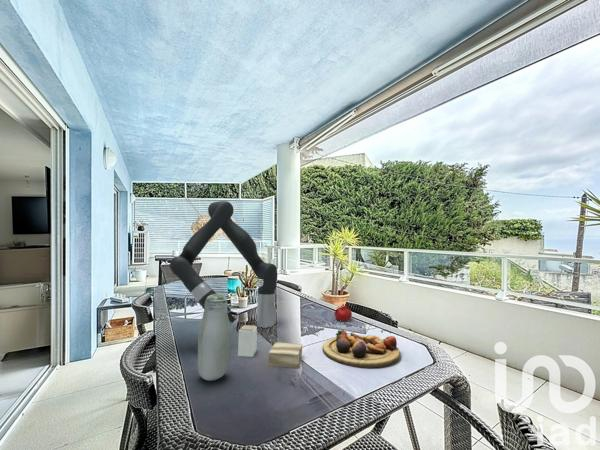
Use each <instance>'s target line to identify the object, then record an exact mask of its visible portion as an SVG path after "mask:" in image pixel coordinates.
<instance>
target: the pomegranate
mask: <svg viewBox="0 0 600 450" xmlns="http://www.w3.org/2000/svg"><path fill="white" fill-rule="evenodd" d="M352 315H353V313H352V310H351V309H349V307H347V306H346V305H345V303H343V304H341V305H340V306H337V307H336V310H335V311H334V317H335V320H337V321H338V320H341V321H340V322H343V321H346V322H349V321H350V320H351V319H352ZM348 320H349V321H348Z"/></svg>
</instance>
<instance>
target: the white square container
mask: <svg viewBox="0 0 600 450" xmlns="http://www.w3.org/2000/svg"><path fill="white" fill-rule="evenodd" d="M257 335H258V326H257V325H245V324H244V325H242V326H241V328H240V329H239V330H238V342H237V343H238V344H237V345H238V347H237V348H238V349H237V357H248V358H249V357H250V358H253V357H254V356H255V355H256V353H257V341H258V340H257V338H258V337H257Z"/></svg>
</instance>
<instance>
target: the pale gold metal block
mask: <svg viewBox="0 0 600 450" xmlns="http://www.w3.org/2000/svg"><path fill="white" fill-rule="evenodd" d="M302 357H303V344H302V343H292V342H291V343H290V342H280V341H279V342H277V341H276V342H274V344H273V346H272V347H271V348H270V350H269V351H268V362H267V363H268V366H271V367H281V368H292V369H298V368H299V365H300V363H301V360H302Z"/></svg>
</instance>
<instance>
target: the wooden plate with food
mask: <svg viewBox="0 0 600 450" xmlns="http://www.w3.org/2000/svg"><path fill="white" fill-rule="evenodd" d="M397 345H398V342H397V338H396V337H395V336H393V335H390V336H387V337H385V338H384V339H382V338H380V337H379V336H377V335H374V334H372V335H359V334H356V333H354V332H351V333H350V334H349V335H348V333H347V331H346V330H345V329H339V330H337V332H336V334H335V337H331V338H329V339H328V340H326V341H324V343H323V345H322V352H323V354H324V355H325V356H326V357H327V358H328V359H330V360H332V361H334V362H336V363H338V364H342V365H345V366H351V367H356V368H368V369H369V368H382V367H385V366H390V365H392V364H395V363H396V362H398V360H400V357H401V351H400V349H399V348H398V347H397Z"/></svg>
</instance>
